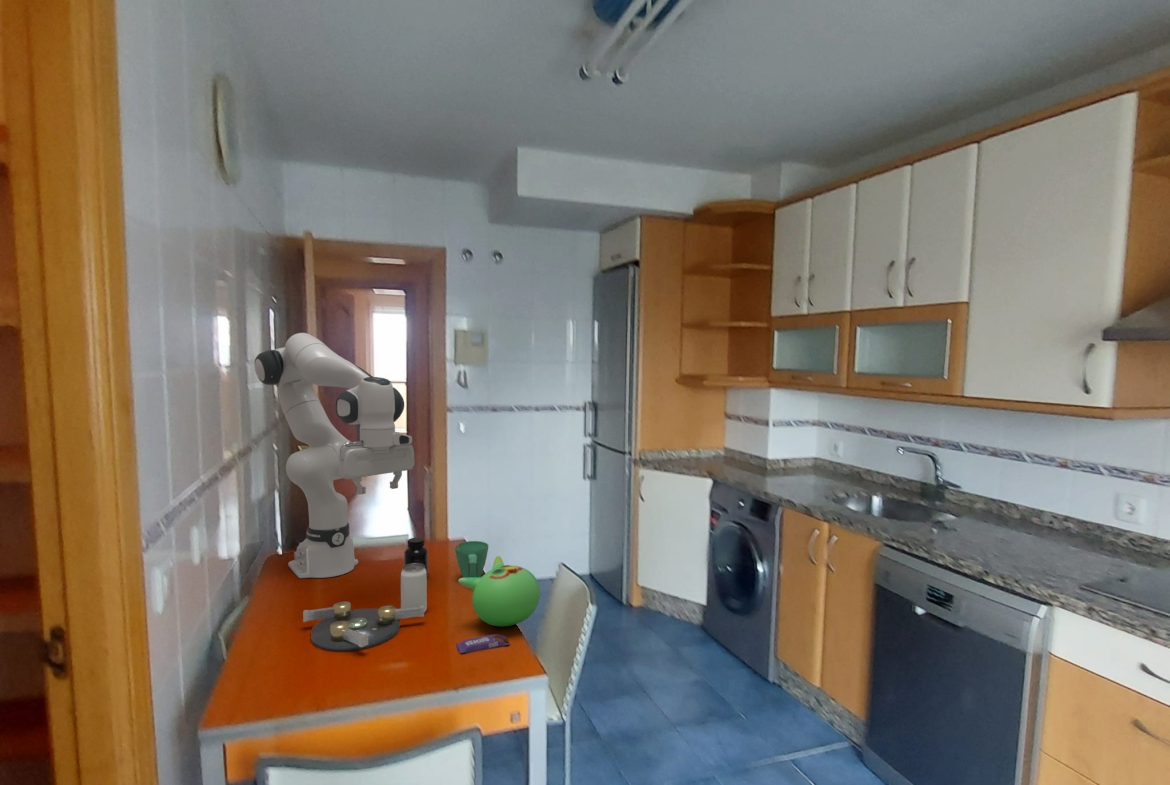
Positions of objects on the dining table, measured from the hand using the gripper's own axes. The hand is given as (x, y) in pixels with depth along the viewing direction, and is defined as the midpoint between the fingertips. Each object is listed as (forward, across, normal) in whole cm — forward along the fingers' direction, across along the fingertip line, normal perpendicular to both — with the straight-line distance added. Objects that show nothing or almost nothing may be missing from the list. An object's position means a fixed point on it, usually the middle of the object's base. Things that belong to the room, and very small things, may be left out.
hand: (378, 491), depth 163 cm
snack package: (+32, +4, -38) cm, 50 cm away
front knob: (+29, -17, -17) cm, 38 cm away
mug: (+31, +28, -4) cm, 42 cm away
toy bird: (+31, +16, -32) cm, 48 cm away
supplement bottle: (+31, +18, +10) cm, 38 cm away
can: (+31, +4, -10) cm, 33 cm away
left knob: (+29, -3, -15) cm, 33 cm away
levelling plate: (+31, -12, -10) cm, 35 cm away
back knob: (+29, -15, -1) cm, 33 cm away
